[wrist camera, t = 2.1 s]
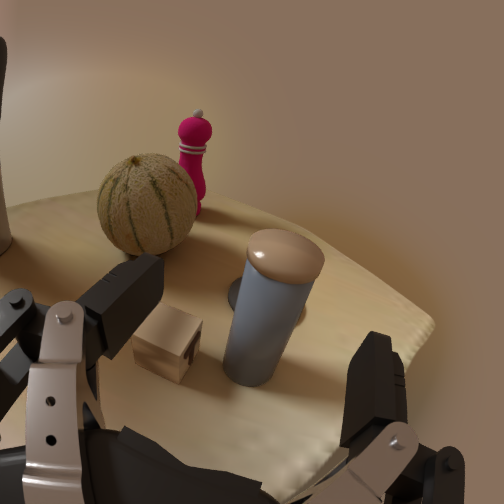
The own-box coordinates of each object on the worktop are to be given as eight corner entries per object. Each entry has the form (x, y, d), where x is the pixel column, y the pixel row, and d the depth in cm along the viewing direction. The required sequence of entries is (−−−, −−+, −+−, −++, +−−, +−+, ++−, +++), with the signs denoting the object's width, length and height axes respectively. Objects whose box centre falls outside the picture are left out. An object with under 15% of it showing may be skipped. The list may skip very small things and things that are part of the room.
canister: (213, 375, 27) (238, 254, 20) (231, 337, 32) (260, 221, 24) (267, 395, 27) (321, 282, 19) (280, 354, 31) (326, 243, 24)
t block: (135, 363, 26) (130, 332, 24) (158, 332, 30) (157, 300, 28) (180, 386, 26) (182, 357, 23) (200, 351, 30) (205, 320, 27)
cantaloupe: (206, 240, 48) (221, 153, 40) (161, 291, 36) (168, 178, 28) (135, 216, 50) (139, 136, 42) (80, 254, 38) (73, 156, 30)
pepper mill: (180, 199, 60) (194, 105, 49) (209, 210, 58) (226, 112, 47) (158, 210, 54) (169, 106, 43) (188, 223, 52) (204, 112, 42)
